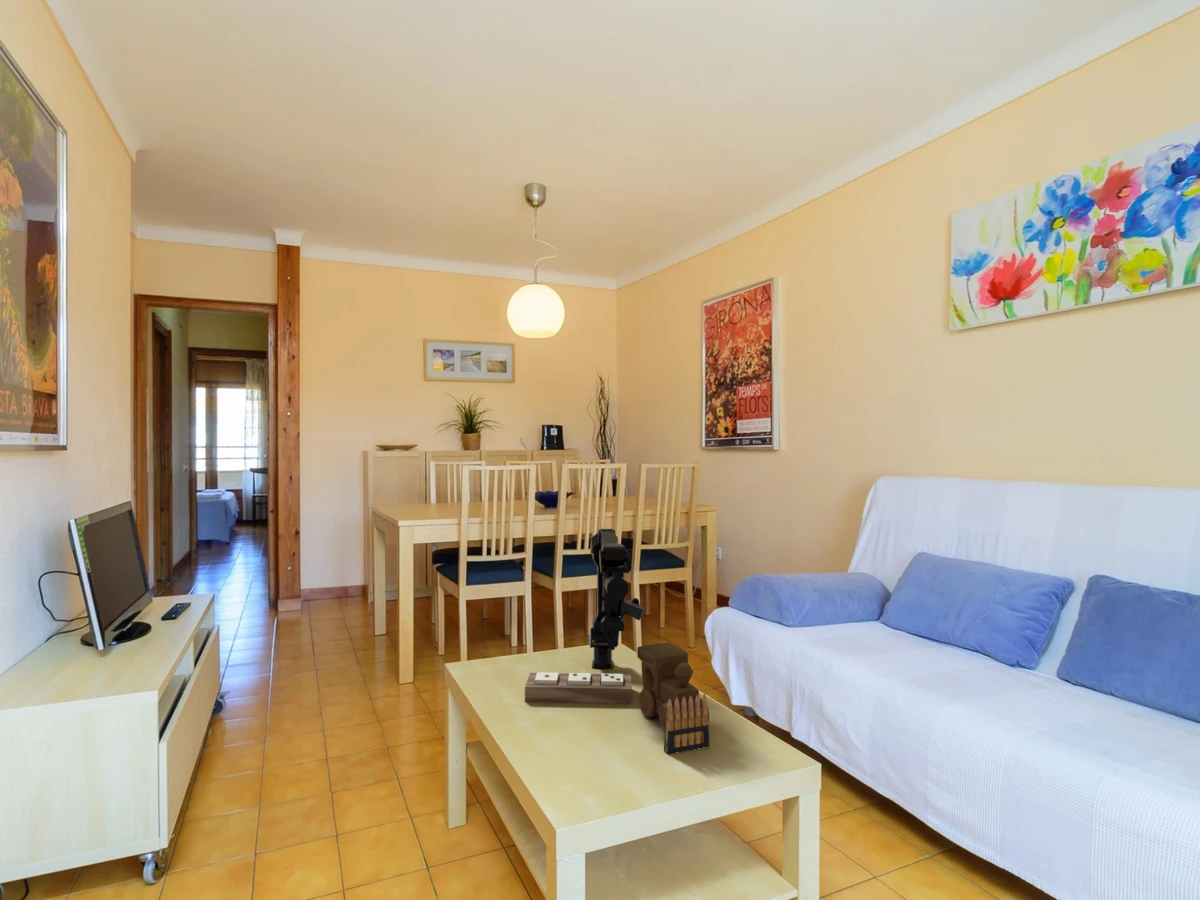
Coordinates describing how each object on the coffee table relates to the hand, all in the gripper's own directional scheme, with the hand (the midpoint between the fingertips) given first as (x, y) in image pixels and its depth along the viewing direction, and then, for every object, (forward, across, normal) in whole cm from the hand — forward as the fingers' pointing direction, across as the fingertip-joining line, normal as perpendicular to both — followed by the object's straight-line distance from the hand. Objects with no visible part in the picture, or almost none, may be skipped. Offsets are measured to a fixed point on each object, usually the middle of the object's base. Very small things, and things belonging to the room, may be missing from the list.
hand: (612, 648), depth 177 cm
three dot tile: (+11, 0, 0) cm, 11 cm away
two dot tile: (+11, 0, +9) cm, 14 cm away
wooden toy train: (+13, -16, -15) cm, 26 cm away
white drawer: (+11, 0, +18) cm, 21 cm away
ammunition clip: (+13, -31, -17) cm, 38 cm away
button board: (+13, 0, +9) cm, 16 cm away
